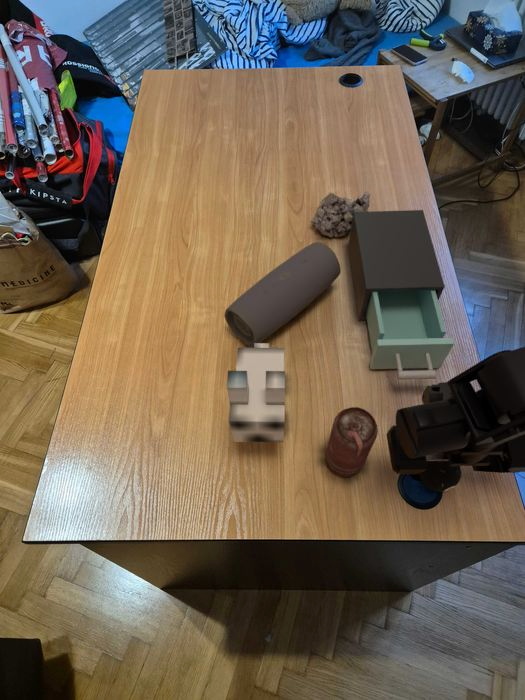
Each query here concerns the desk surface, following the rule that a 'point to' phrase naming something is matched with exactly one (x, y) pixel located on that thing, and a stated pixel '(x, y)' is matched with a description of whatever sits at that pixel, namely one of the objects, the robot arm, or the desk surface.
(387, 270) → the drawer box
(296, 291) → the bluetooth speaker
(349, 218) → the mineral specimen
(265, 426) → the toy llama
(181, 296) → the desk surface
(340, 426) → the can
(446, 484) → the billiard ball
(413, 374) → the mint green drawer
